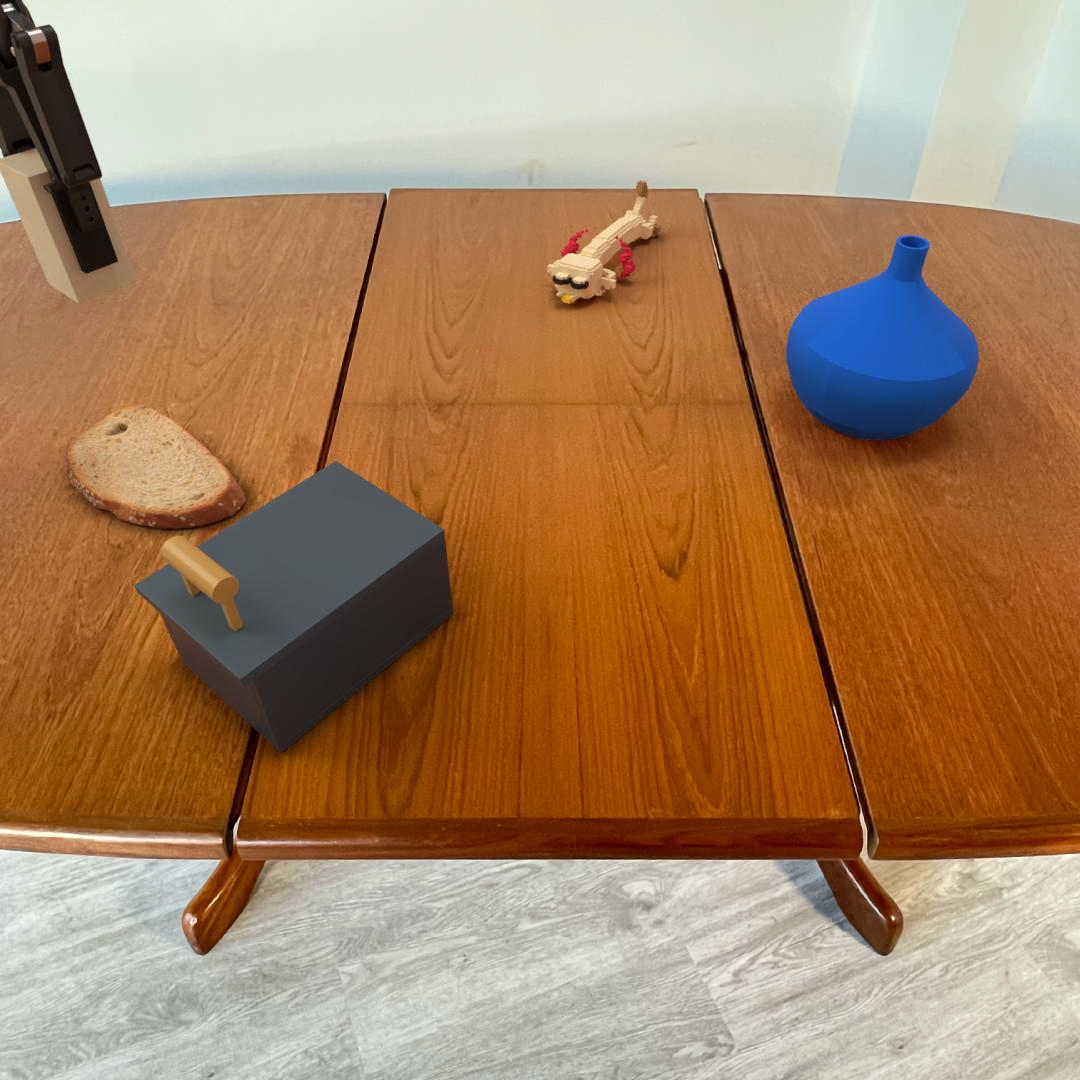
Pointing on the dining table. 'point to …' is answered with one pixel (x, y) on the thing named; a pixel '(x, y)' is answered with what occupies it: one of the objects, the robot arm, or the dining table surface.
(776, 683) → the dining table surface
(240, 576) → the chest lid
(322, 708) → the chest
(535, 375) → the dining table surface
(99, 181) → the block
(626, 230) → the cream long figure
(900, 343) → the vase
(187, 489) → the bread slice
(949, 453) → the dining table surface
